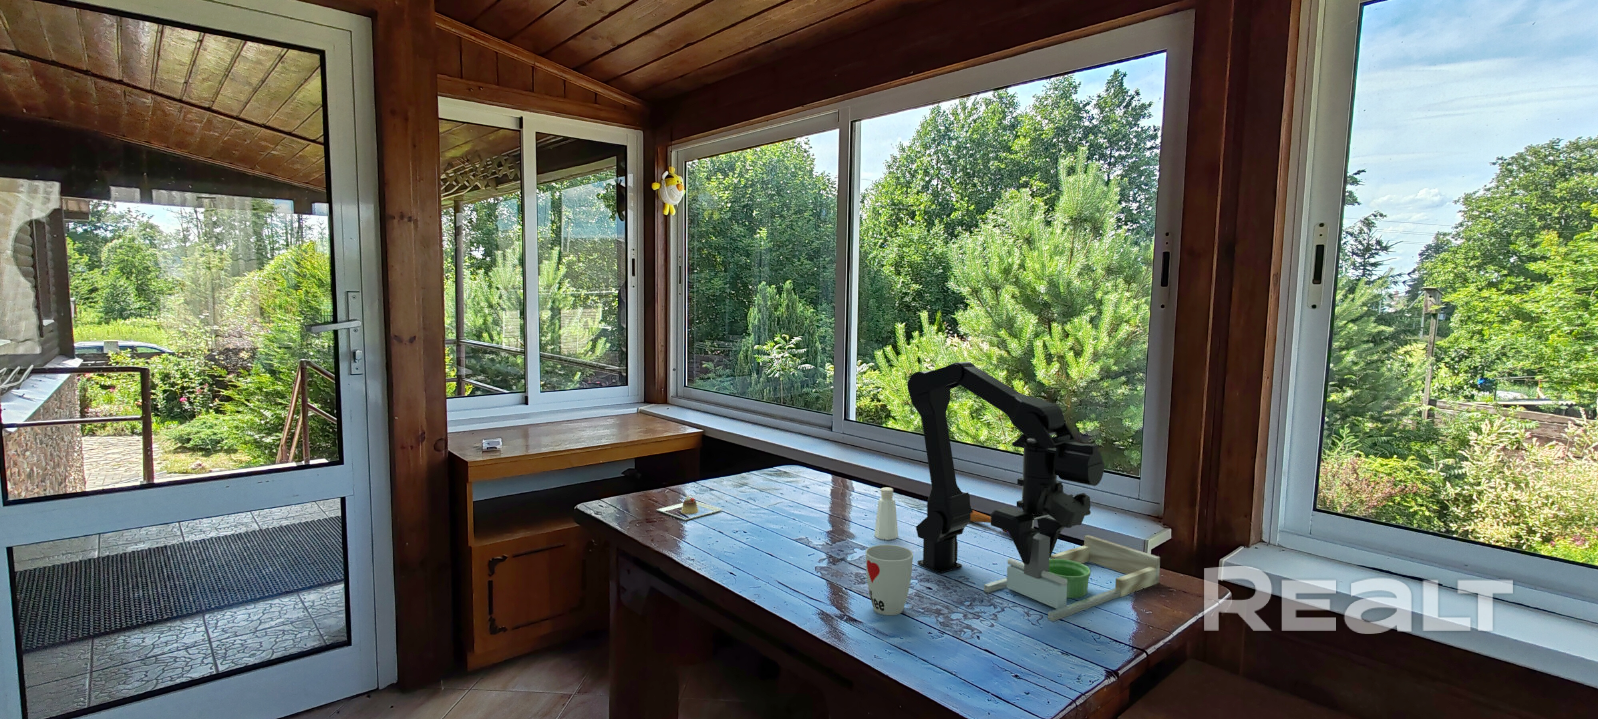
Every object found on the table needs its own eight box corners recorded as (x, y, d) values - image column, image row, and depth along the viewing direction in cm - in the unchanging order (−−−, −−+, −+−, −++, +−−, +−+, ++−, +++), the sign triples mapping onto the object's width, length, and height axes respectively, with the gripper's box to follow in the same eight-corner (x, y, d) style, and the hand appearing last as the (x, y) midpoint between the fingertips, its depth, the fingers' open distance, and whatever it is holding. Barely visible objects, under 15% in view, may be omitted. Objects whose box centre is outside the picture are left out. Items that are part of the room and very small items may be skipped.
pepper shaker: (899, 540, 159) (900, 491, 158) (875, 539, 159) (876, 491, 158) (896, 532, 164) (897, 485, 164) (873, 532, 165) (874, 485, 164)
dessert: (723, 513, 180) (723, 494, 180) (685, 523, 171) (685, 504, 171) (694, 504, 188) (693, 486, 188) (656, 513, 180) (655, 495, 179)
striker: (1058, 610, 122) (1061, 547, 121) (1003, 586, 132) (1005, 528, 131) (1069, 606, 123) (1072, 544, 123) (1014, 583, 133) (1016, 525, 133)
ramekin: (1029, 590, 132) (1030, 567, 131) (1050, 577, 138) (1051, 555, 138) (1078, 604, 126) (1079, 580, 125) (1097, 589, 132) (1098, 566, 132)
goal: (1054, 621, 118) (1055, 592, 118) (983, 590, 131) (983, 563, 131) (1158, 582, 136) (1160, 557, 135) (1087, 558, 148) (1088, 534, 148)
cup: (861, 599, 127) (861, 544, 126) (905, 598, 127) (906, 543, 127) (869, 619, 119) (870, 561, 118) (917, 618, 119) (918, 560, 119)
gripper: (1043, 492, 114) (1040, 587, 115) (1112, 477, 124) (1109, 564, 126) (989, 477, 123) (987, 565, 125) (1058, 465, 134) (1055, 546, 135)
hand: (1036, 560), depth 127 cm, fingers open, 5 cm apart
